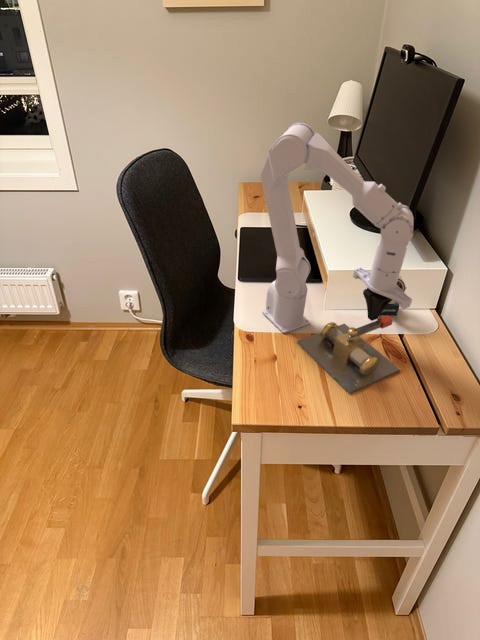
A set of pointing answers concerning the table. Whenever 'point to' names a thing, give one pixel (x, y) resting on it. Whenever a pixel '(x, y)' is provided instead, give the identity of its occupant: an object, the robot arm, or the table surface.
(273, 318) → the robot arm
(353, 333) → the lever
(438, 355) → the table surface
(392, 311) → the watch
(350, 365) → the valve
